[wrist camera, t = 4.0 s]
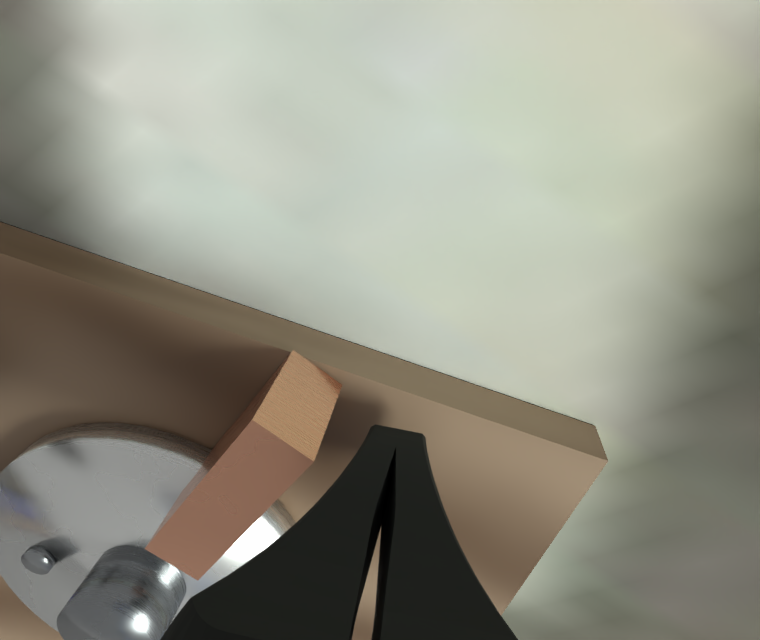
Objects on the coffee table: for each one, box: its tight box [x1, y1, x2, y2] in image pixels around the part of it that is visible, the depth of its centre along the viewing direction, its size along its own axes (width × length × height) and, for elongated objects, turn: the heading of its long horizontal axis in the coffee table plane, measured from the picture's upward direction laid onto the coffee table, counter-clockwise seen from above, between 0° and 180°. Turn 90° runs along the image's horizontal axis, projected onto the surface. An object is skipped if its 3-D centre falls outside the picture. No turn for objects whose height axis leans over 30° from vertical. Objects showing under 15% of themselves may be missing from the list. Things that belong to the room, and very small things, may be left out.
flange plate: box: [0, 350, 342, 640], centre depth 16 cm, size 16×11×3 cm
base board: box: [0, 222, 608, 640], centre depth 17 cm, size 19×23×5 cm
